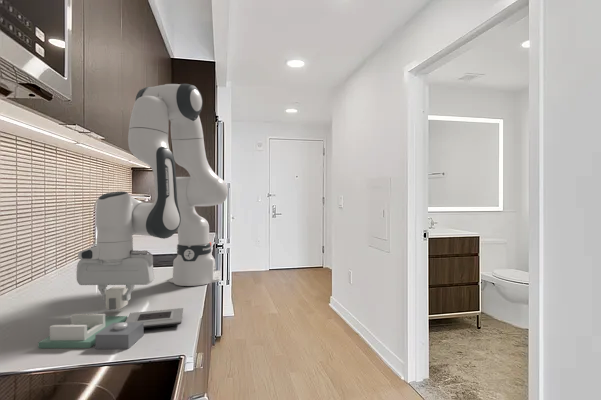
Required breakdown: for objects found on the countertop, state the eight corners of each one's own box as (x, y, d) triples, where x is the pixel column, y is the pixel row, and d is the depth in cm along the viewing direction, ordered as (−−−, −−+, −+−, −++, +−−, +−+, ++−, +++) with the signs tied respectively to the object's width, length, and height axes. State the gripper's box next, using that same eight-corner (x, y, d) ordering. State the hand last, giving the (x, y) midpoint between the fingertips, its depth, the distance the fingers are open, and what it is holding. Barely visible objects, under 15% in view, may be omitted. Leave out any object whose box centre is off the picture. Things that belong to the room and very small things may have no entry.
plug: (114, 304, 100) (113, 286, 99) (128, 304, 100) (127, 286, 99) (104, 309, 95) (104, 291, 95) (119, 309, 95) (118, 291, 95)
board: (85, 320, 91) (84, 304, 91) (127, 320, 91) (127, 304, 91) (38, 348, 75) (38, 328, 75) (89, 347, 75) (89, 328, 75)
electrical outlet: (122, 336, 82) (121, 326, 82) (130, 320, 92) (130, 311, 92) (181, 330, 85) (181, 320, 85) (183, 315, 96) (183, 306, 96)
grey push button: (113, 335, 81) (113, 319, 81) (143, 335, 81) (143, 319, 81) (95, 348, 74) (95, 331, 74) (128, 348, 74) (128, 330, 74)
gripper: (157, 248, 100) (158, 296, 100) (86, 248, 100) (88, 296, 101) (147, 252, 94) (148, 303, 94) (71, 253, 94) (73, 304, 95)
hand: (116, 300), depth 98 cm, fingers closed on plug, 4 cm apart
